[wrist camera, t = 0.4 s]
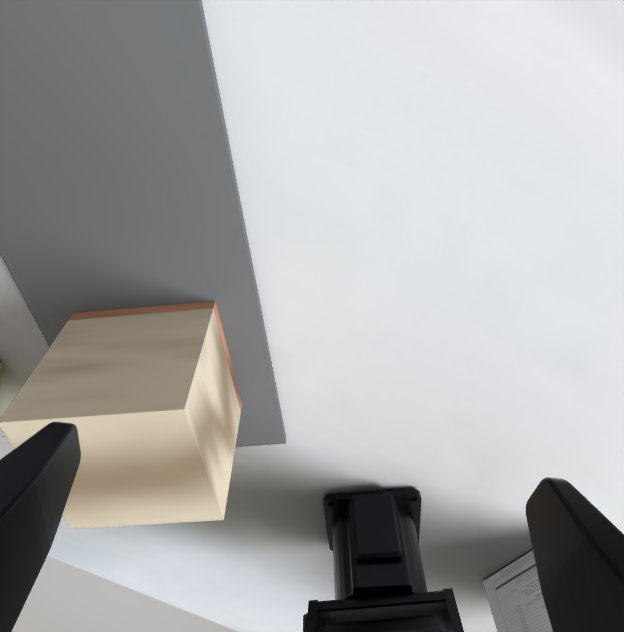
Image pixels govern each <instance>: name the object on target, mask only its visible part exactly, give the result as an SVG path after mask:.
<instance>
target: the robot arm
mask: <svg viewBox="0 0 624 632" xmlns="http://www.w3.org/2000/svg"><path fill="white" fill-rule="evenodd" d="M80 460H81V450H80V443H79V436H78V430H77V427H76V425H74V424H72V423H63V422H51V423H49V424H48V425H46V426H45V427H43V428H42V429H41V430H39V431H38V432H37V433H35V434H34V435H33V436H31V437H30V438H29V439H27V440H26V441H25V442H23V443H22V444H21V445H19V446H18V447H17V448H15V449H14V450H13V451H11V452H10V453H9V454H7V455H6V456H5V457H3V458H2V459H1V460H0V632H12V629H13V627H14V625H15V623H16V621H17V619H18V617H19V614H20V612H21V610H22V608H23V606H24V604H25V602H26V600H27V597H28V595H29V593H30V591H31V589H32V587H33V585H34V583H35V581H36V578H37V576H38V574H39V572H40V570H41V568H42V566H43V564H44V561H45V559H46V557H47V555H48V552H49V550H50V548H51V545H52V543H53V540H54V537H55V535H56V532H57V529H58V526H59V523H60V520H61V517H62V514H63V511H64V509H65V506H66V503H67V500H68V497H69V494H70V491H71V488H72V485H73V482H74V479H75V477H76V474H77V471H78V468H79V465H80ZM323 505H324V512H325V519H326V526H327V533H328V540H329V547H330V550H332V551H333V555H334V580H335V600H330V601H318V600H311V601H309V605H308V613H307V614H305V615H304V616H303V632H464V630H463V627H462V623H461V619H460V616H459V612H458V608H457V605H456V601H455V597H454V594H453V590H452V588H449V589H443V591H434V592H427V587H426V581H425V576H424V571H423V565H422V560H421V555H420V549H419V530H420V511H421V495H420V492H419V491H418V490H416V489H409V490H392V491H376V492H360V493H343V494H329V495H326V496H325V497H324V498H323ZM526 516H527V521H528V527H529V532H530V537H531V542H532V547H533V553H534V558H535V563H536V568H537V574H538V579H539V583H540V588H541V592H542V595H543V599H544V603H545V606H546V610H547V613H548V617H549V620H550V623H551V627H552V630H553V632H624V534H623V533H622V532H621V531H620V530H619V529H618V528H617V527H616V526H614V525H613V524H612V523H611V522H610V521H609V520H608V519H607V518H606V517H605V516H604V515H603V514H602V513H601V512H600V511H599V510H598V509H597V508H596V507H595V506H594V505H592V504H591V503H590V502H589V501H588V500H587V499H586V498H585V497H584V496H583V495H582V494H581V493H580V492H579V491H578V490H577V489H576V488H575V487H574V486H573V485H571V484H570V483H569V482H568V481H566V480H564V479H557V478H544V479H543V480H542V481H541V482H540V483H539V485H538V486H537V488H536V489H535V491H534V492H533V493H532V495H531V496H530V498H529V499H528V501H527V504H526Z"/></svg>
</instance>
